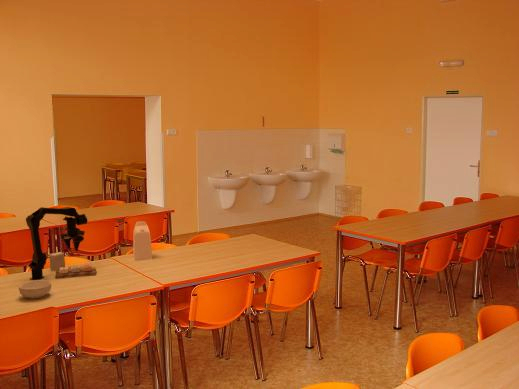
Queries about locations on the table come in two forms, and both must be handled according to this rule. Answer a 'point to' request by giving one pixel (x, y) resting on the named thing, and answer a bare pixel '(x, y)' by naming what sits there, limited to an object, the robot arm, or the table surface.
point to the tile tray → (75, 274)
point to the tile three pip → (87, 268)
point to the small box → (56, 261)
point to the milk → (141, 242)
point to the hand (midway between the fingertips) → (72, 250)
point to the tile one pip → (63, 270)
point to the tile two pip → (75, 269)
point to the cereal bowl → (35, 288)
